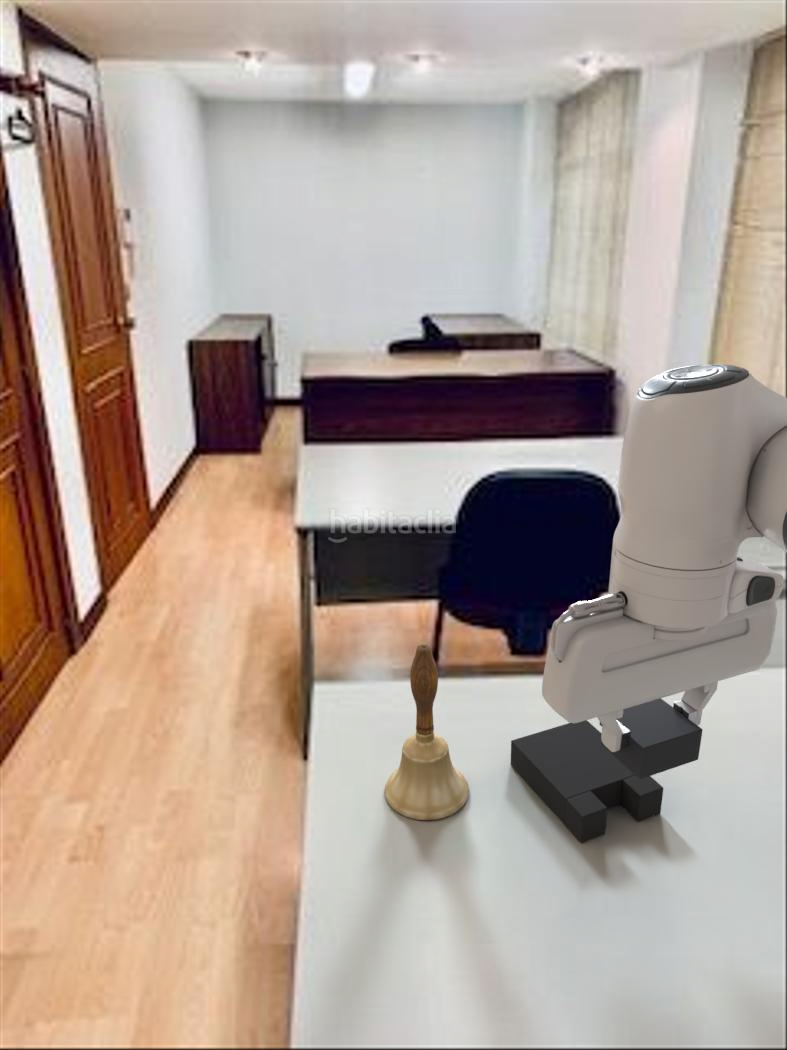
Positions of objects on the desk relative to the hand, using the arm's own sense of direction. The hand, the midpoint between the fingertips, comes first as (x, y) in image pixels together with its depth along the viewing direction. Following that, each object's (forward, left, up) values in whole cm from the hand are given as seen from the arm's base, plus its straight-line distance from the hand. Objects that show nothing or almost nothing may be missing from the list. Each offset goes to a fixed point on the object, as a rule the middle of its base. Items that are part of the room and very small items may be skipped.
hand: (651, 734), depth 63 cm
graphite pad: (0, -1, -2) cm, 2 cm away
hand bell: (+14, -15, -12) cm, 24 cm away
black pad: (0, -9, -12) cm, 15 cm away
